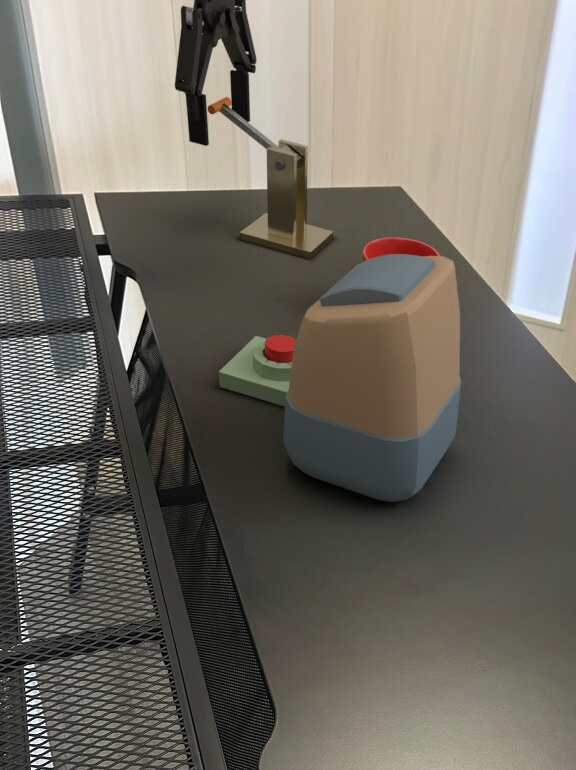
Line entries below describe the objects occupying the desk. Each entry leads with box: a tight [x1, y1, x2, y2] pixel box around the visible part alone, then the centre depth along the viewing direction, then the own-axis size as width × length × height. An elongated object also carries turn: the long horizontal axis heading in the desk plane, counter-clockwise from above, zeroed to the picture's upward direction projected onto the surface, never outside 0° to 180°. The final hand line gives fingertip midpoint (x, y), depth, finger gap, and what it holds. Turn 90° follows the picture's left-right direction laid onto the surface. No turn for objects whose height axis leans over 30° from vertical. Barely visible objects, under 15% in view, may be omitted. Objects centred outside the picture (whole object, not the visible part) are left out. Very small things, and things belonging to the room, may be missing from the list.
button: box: [265, 334, 296, 363], centre depth 105 cm, size 4×4×2 cm
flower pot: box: [361, 236, 441, 262], centre depth 120 cm, size 11×11×10 cm
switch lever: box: [207, 96, 301, 166], centre depth 127 cm, size 14×5×2 cm, turn 73°
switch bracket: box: [239, 138, 334, 260], centre depth 132 cm, size 12×9×14 cm
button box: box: [218, 335, 292, 408], centre depth 107 cm, size 12×10×4 cm
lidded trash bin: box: [282, 254, 462, 503], centre depth 91 cm, size 17×17×23 cm
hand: (220, 131), depth 128 cm, fingers open, 12 cm apart
